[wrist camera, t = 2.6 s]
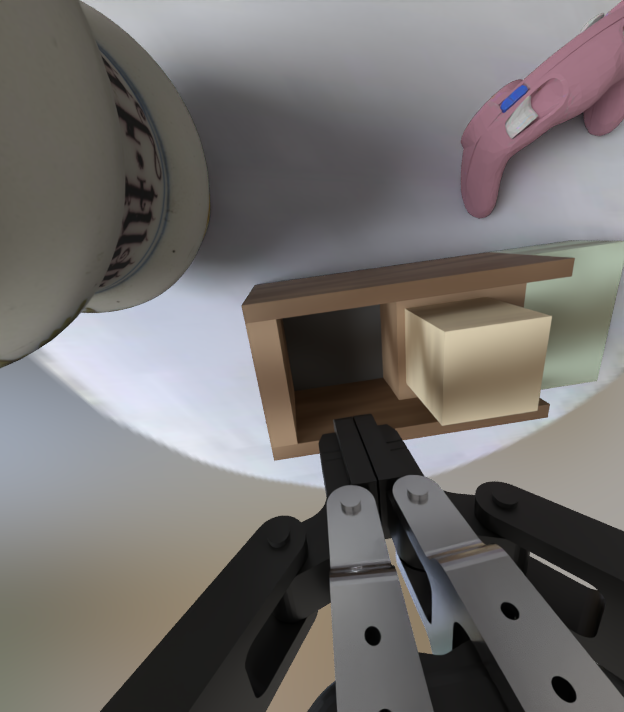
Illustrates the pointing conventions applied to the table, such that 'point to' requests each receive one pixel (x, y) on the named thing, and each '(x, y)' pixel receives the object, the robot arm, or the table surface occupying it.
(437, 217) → the table surface
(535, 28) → the table surface
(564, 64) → the video game controller
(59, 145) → the apothecary jar
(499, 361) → the maple block
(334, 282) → the channel
